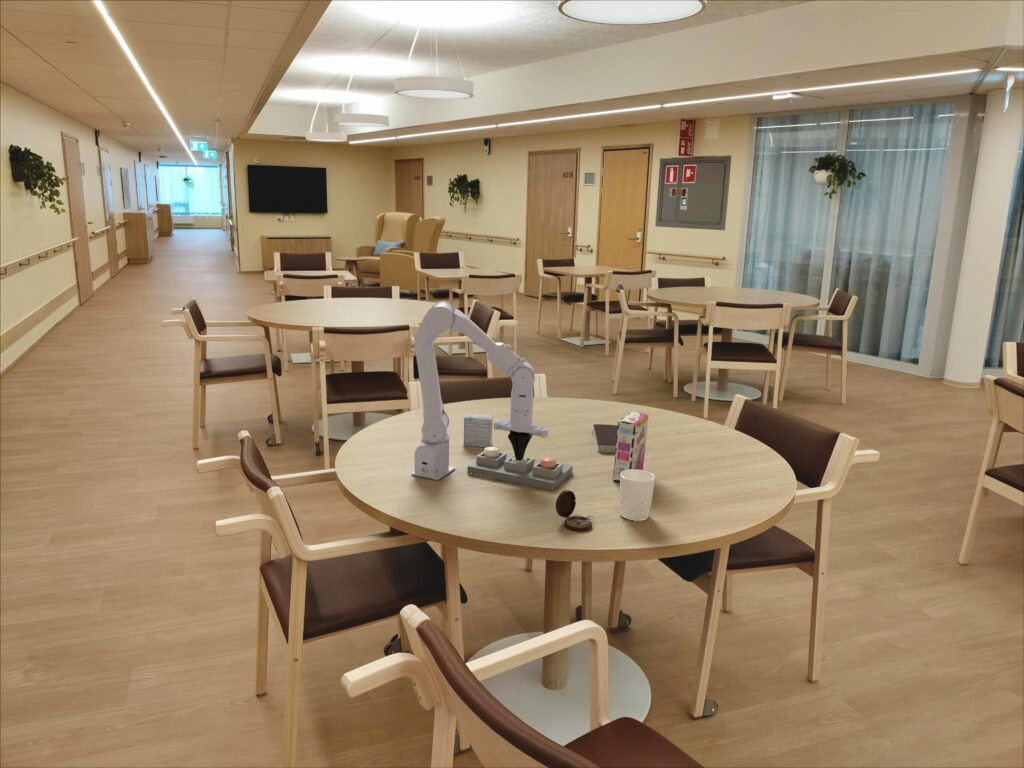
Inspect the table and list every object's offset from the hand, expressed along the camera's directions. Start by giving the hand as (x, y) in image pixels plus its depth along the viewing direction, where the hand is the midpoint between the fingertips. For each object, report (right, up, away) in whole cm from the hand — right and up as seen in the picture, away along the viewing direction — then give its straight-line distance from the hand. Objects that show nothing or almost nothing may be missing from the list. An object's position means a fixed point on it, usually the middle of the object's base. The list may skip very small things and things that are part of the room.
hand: (519, 459), depth 195 cm
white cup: (+26, -11, -22) cm, 36 cm away
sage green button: (0, -2, 0) cm, 2 cm away
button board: (0, -4, +2) cm, 4 cm away
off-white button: (-7, 0, +3) cm, 8 cm away
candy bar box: (+29, -5, +3) cm, 29 cm away
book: (+29, +1, +30) cm, 42 cm away
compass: (+13, -12, -27) cm, 32 cm away
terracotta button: (+7, -2, -3) cm, 8 cm away
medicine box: (-12, +2, +23) cm, 26 cm away
